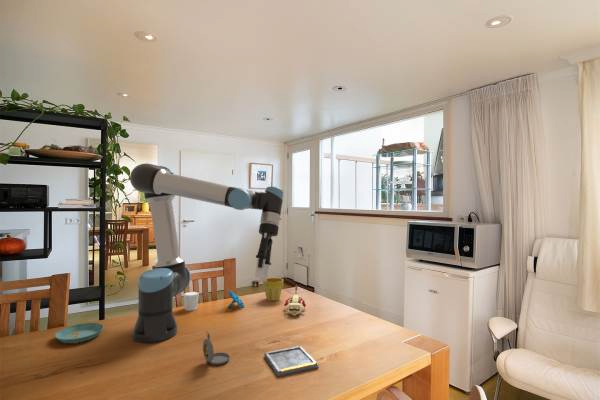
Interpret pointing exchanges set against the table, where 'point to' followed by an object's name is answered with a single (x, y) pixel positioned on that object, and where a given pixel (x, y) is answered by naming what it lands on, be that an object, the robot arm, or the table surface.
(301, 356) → the pocket plate
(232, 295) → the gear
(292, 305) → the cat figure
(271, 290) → the plant pot
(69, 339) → the saucer
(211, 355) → the pocket watch
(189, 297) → the white cup
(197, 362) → the table surface
